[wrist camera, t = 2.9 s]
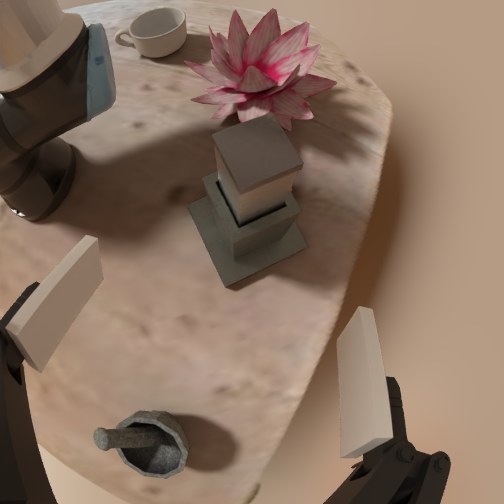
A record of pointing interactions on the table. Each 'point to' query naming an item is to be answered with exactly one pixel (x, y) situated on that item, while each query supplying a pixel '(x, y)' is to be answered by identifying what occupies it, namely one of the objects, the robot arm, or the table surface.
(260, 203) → the steel post
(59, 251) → the table surface
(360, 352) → the robot arm
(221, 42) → the decorative flower
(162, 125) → the table surface
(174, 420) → the mortar and pestle
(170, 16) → the teacup
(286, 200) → the sleeve
